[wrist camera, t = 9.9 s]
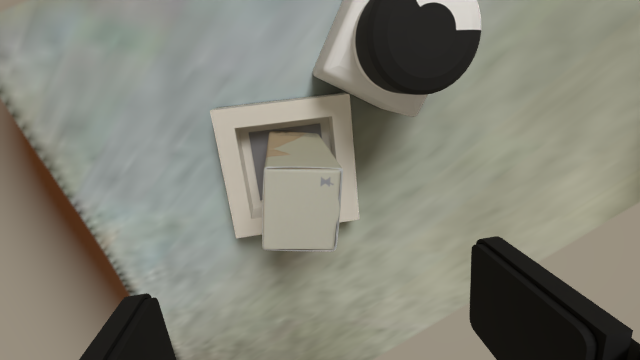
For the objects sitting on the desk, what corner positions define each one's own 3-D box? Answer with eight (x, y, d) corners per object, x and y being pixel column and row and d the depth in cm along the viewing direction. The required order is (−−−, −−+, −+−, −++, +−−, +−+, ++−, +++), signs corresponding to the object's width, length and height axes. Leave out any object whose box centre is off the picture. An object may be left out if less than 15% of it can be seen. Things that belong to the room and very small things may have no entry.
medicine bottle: (384, 110, 29) (454, 128, 17) (310, 74, 27) (334, 68, 16) (423, 30, 27) (528, -7, 16) (347, -12, 26) (403, -88, 14)
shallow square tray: (342, 92, 28) (349, 93, 25) (351, 206, 31) (359, 219, 28) (217, 107, 27) (210, 110, 24) (240, 223, 30) (236, 238, 27)
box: (268, 130, 27) (262, 160, 17) (320, 132, 28) (346, 163, 17) (267, 190, 28) (260, 253, 18) (316, 191, 29) (337, 253, 19)
